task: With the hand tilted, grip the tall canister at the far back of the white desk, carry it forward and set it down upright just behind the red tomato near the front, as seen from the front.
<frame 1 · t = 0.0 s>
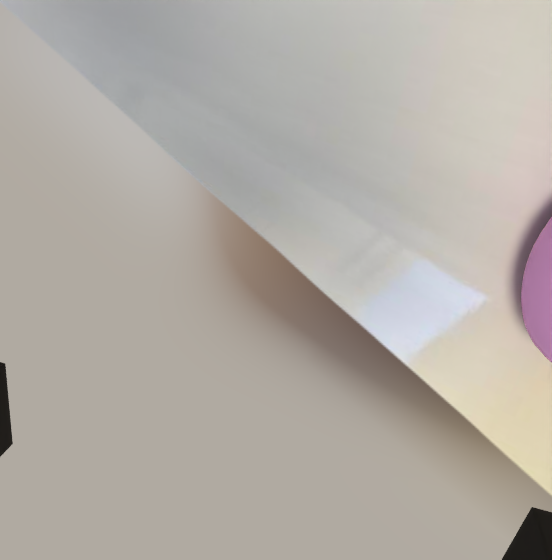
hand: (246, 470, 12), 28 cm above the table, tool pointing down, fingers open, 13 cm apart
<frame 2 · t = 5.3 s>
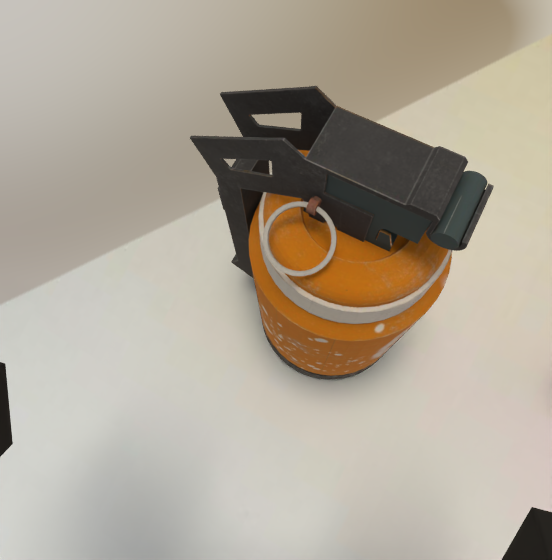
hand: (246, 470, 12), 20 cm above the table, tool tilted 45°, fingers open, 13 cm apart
canister: (313, 308, 35), on the table
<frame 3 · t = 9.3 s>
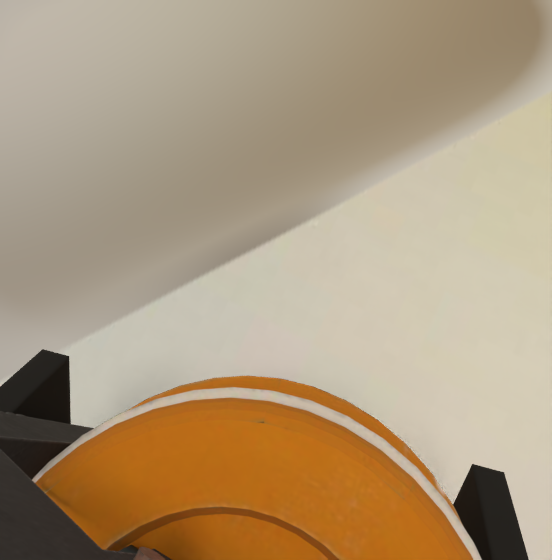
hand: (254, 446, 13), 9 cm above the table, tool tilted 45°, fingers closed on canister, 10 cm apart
canister: (246, 520, 21), on the table, touching gripper
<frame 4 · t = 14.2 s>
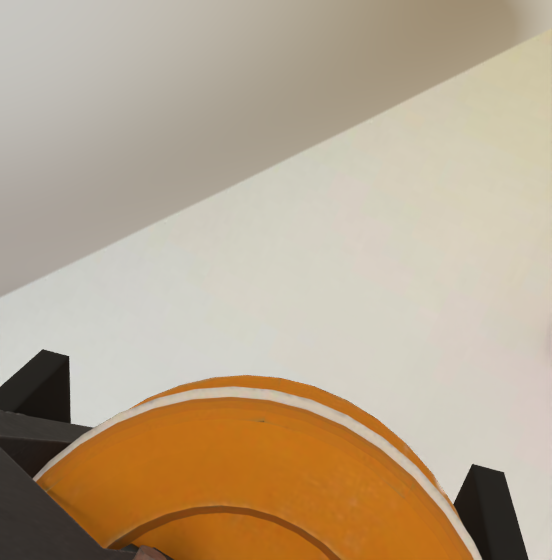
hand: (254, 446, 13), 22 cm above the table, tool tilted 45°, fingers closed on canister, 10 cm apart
canister: (246, 520, 21), point 13 cm above the table, touching gripper
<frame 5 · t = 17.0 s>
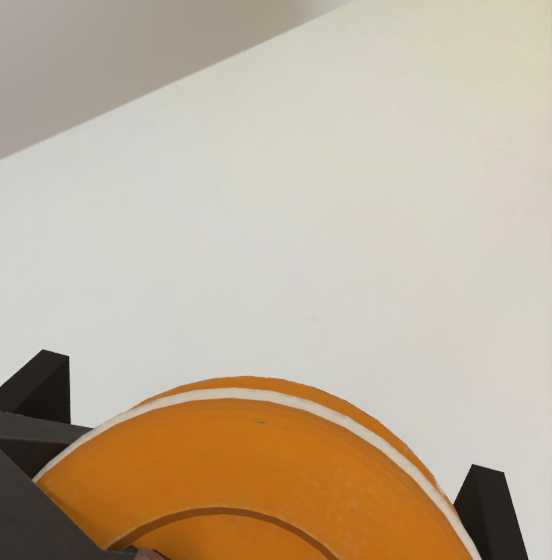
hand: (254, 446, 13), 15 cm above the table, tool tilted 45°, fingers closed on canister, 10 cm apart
canister: (246, 520, 21), point 6 cm above the table, touching gripper
when the fingers open (9 cm above the table, at t = 19.3 s): canister stays where it is, on the table.
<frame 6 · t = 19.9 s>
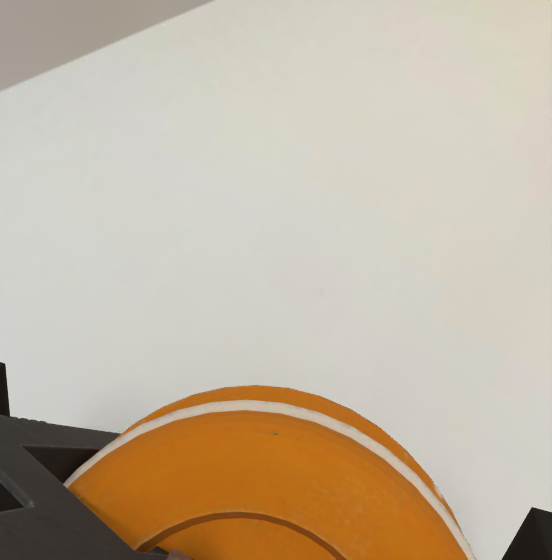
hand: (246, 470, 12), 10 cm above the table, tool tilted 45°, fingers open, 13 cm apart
canister: (250, 518, 22), on the table
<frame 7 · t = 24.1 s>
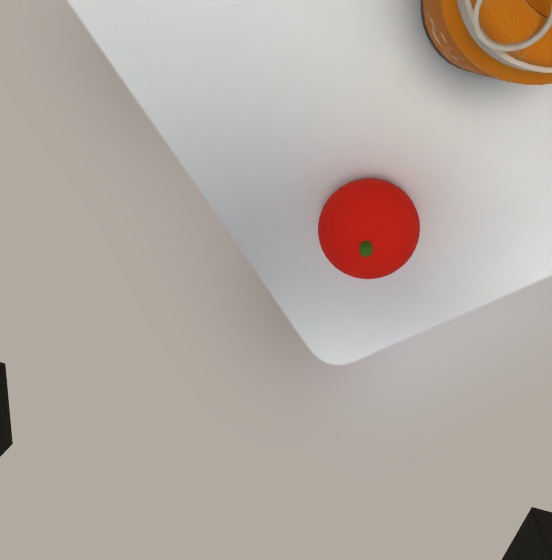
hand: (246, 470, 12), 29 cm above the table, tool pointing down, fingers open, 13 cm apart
tomato: (369, 214, 38), on the table
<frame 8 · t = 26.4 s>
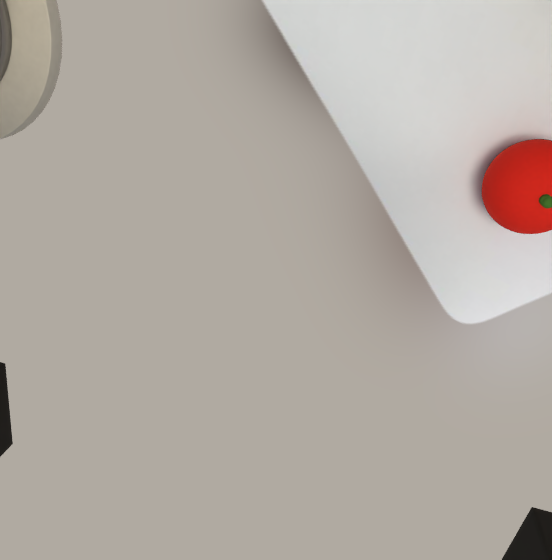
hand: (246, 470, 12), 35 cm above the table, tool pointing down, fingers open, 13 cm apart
tomato: (520, 176, 41), on the table
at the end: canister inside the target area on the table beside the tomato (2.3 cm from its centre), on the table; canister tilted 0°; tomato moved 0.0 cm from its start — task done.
